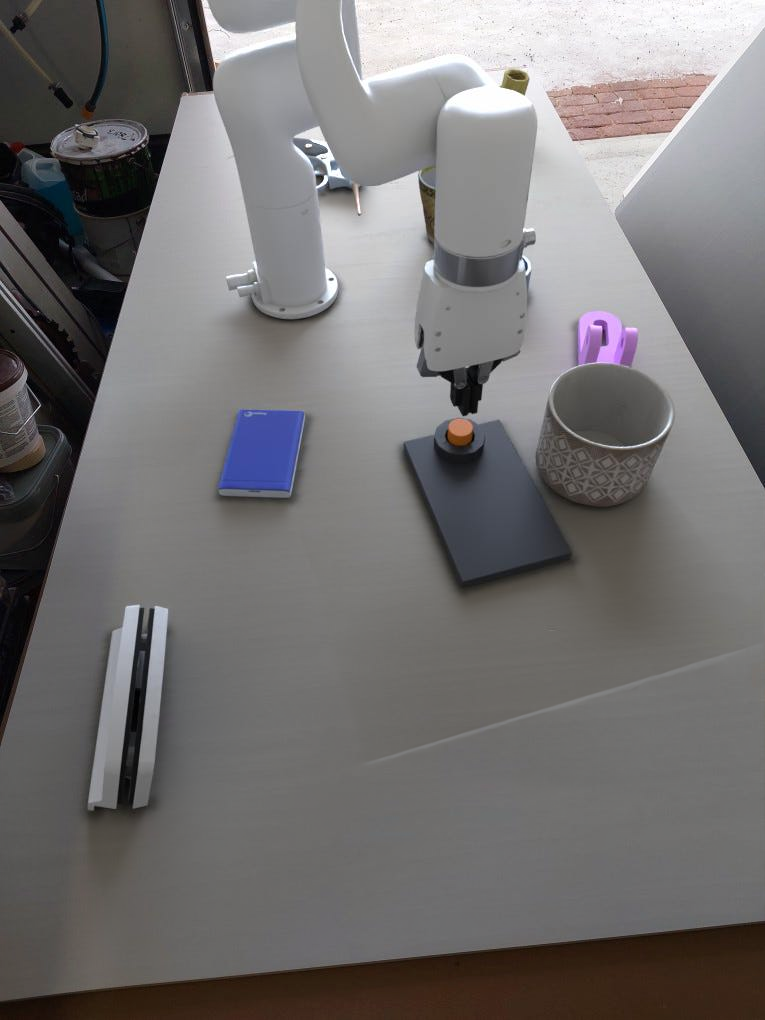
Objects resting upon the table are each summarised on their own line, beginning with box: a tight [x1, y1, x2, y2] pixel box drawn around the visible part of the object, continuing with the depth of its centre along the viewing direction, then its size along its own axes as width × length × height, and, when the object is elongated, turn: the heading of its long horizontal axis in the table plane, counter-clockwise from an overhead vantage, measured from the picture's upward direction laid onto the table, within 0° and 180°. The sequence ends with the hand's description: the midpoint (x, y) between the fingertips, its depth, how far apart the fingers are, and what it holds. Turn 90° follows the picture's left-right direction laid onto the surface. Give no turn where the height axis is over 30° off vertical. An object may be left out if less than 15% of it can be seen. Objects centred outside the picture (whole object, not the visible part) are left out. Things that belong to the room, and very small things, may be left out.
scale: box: [403, 417, 573, 589], centre depth 76 cm, size 12×20×3 cm, turn 16°
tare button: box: [448, 418, 473, 447], centre depth 78 cm, size 3×3×2 cm
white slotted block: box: [87, 604, 169, 812], centre depth 60 cm, size 17×5×10 cm, turn 6°
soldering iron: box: [292, 137, 362, 217], centre depth 118 cm, size 6×28×16 cm
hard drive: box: [217, 408, 306, 499], centre depth 81 cm, size 2×8×12 cm
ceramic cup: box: [417, 166, 436, 244], centre depth 105 cm, size 13×10×10 cm
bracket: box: [576, 310, 639, 368], centre depth 89 cm, size 13×6×7 cm, turn 172°
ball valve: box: [498, 68, 530, 97], centre depth 125 cm, size 13×10×10 cm
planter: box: [535, 363, 676, 507], centre depth 75 cm, size 13×13×10 cm
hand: (465, 406), depth 75 cm, fingers closed
